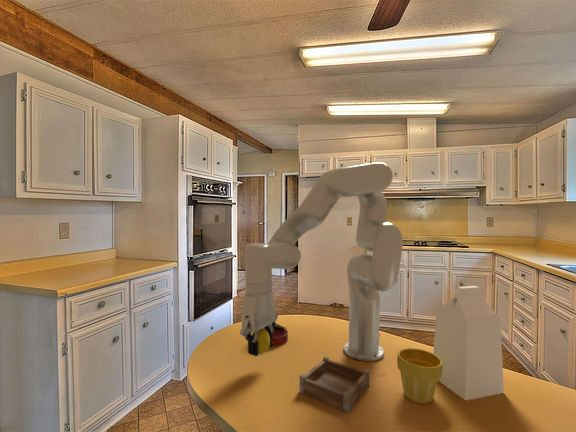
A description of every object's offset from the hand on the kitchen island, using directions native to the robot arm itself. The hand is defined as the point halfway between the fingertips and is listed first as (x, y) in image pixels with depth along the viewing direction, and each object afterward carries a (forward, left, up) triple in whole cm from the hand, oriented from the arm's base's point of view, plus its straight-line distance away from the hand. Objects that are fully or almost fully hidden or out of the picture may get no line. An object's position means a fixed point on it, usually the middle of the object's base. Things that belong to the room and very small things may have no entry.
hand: (260, 349), depth 89 cm
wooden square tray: (-4, +21, -6) cm, 23 cm away
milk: (-27, +48, -6) cm, 56 cm away
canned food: (-18, -10, -6) cm, 21 cm away
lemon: (0, 0, -2) cm, 2 cm away
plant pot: (-14, +39, -6) cm, 42 cm away
